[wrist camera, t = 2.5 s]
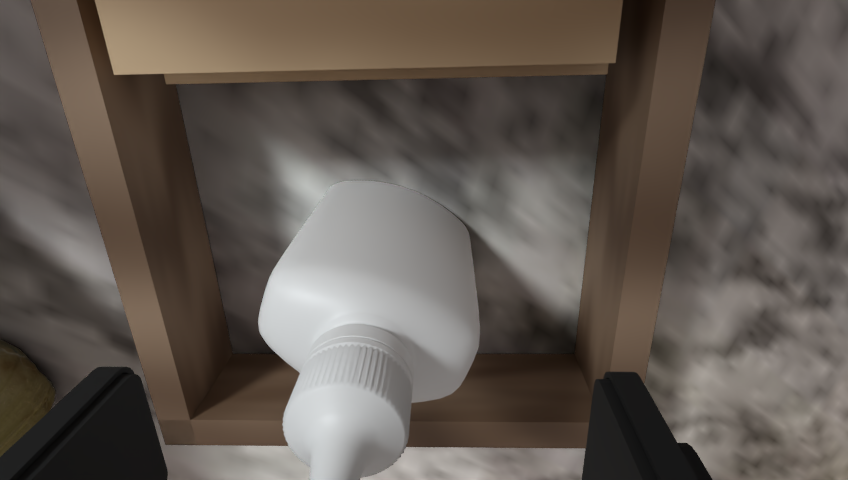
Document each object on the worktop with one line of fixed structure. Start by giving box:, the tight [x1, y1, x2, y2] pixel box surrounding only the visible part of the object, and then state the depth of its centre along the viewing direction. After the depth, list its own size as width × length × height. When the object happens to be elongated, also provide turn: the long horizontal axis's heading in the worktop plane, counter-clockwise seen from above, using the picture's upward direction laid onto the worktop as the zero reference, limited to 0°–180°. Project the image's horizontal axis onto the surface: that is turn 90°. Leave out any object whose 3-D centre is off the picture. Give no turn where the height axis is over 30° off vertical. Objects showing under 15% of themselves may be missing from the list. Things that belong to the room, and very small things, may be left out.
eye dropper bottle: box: [258, 180, 480, 480], centre depth 14 cm, size 4×6×12 cm
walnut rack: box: [31, 0, 716, 448], centre depth 17 cm, size 17×17×4 cm
